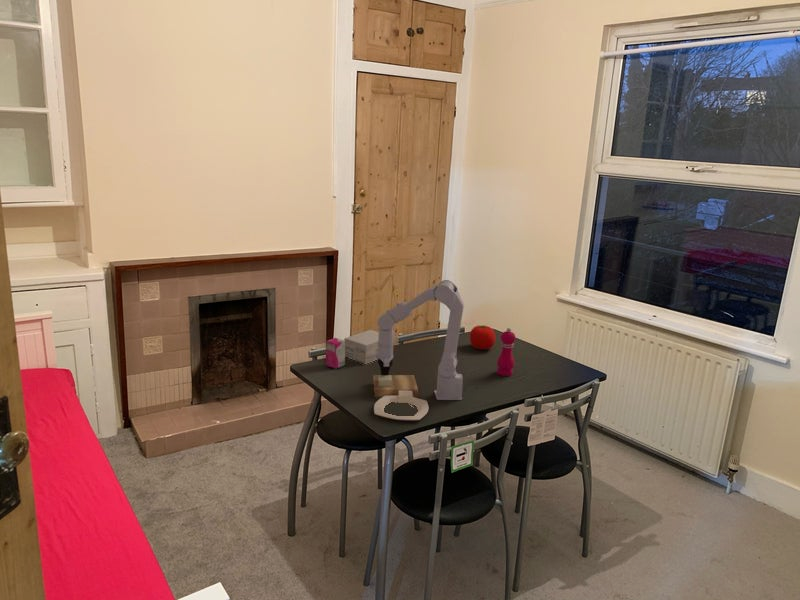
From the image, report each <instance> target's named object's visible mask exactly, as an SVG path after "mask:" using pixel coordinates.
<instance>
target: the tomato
mask: <svg viewBox="0 0 800 600" xmlns="http://www.w3.org/2000/svg"><path fill="white" fill-rule="evenodd" d="M469 342H470V344H471V346H472V347H473V348H475V349H476V350H477V349H478V350H489V349H491V348H493V347H494V345H495V343H496V333H495V331H494V330H493V328H492V327H490V326H487V325H475V326H474V327H473V328H472V329H471V330H470V333H469Z"/></svg>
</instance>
